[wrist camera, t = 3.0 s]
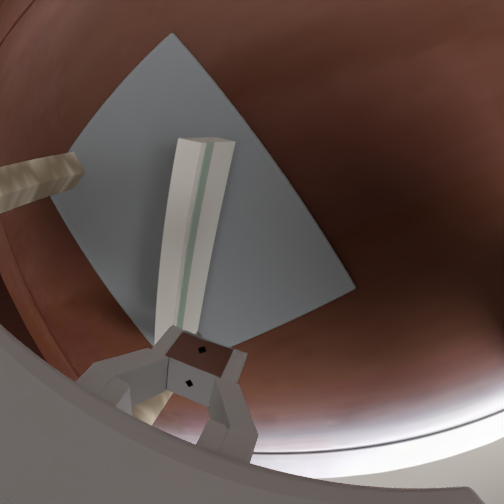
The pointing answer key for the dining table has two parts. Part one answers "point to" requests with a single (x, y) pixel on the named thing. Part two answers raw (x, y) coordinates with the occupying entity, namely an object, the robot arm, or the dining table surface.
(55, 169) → the gate posts
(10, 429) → the robot arm
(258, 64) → the dining table surface
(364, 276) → the dining table surface
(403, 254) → the dining table surface
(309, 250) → the mat
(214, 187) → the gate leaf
